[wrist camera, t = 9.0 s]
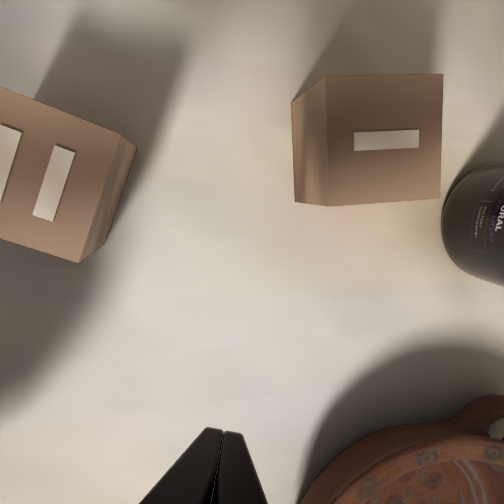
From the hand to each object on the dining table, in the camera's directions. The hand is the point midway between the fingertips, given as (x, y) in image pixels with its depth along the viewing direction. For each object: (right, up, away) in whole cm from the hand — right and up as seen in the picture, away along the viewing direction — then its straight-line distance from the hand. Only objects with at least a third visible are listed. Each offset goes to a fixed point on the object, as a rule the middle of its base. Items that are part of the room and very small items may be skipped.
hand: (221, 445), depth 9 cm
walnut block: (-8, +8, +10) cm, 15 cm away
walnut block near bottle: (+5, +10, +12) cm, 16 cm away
